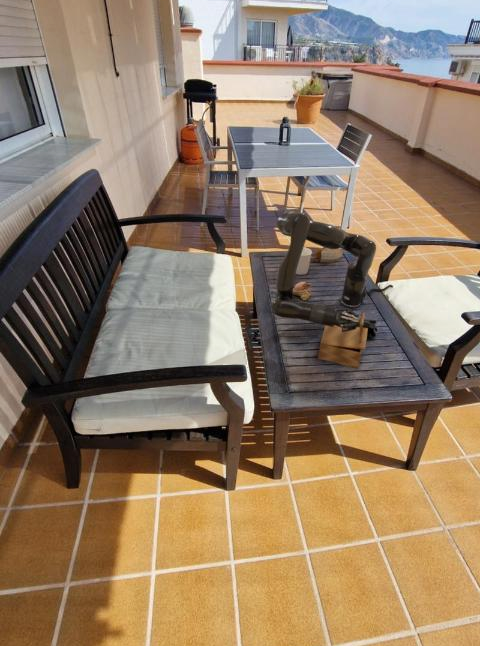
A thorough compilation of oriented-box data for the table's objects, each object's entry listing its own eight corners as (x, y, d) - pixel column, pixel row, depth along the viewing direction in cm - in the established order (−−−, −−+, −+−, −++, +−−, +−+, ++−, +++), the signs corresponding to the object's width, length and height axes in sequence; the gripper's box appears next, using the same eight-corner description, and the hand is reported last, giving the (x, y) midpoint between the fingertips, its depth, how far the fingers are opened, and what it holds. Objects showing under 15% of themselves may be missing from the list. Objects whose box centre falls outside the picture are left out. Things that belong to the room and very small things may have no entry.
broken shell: (315, 302, 186) (306, 294, 179) (296, 306, 191) (287, 298, 184) (314, 285, 190) (306, 277, 182) (296, 289, 195) (287, 281, 188)
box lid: (367, 329, 153) (369, 309, 148) (365, 349, 143) (366, 328, 138) (325, 325, 158) (326, 305, 153) (320, 344, 148) (320, 323, 143)
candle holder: (309, 276, 206) (312, 255, 199) (291, 275, 205) (293, 254, 199) (308, 267, 214) (310, 247, 207) (290, 266, 214) (292, 246, 207)
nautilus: (305, 266, 215) (302, 255, 228) (344, 265, 215) (339, 254, 228) (306, 253, 211) (303, 242, 224) (346, 252, 211) (340, 241, 224)
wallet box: (360, 348, 159) (364, 334, 155) (357, 368, 149) (361, 354, 145) (323, 339, 162) (325, 325, 158) (317, 358, 153) (320, 344, 148)
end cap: (370, 329, 170) (374, 316, 166) (375, 339, 164) (379, 326, 160) (348, 328, 169) (351, 316, 165) (351, 339, 163) (355, 326, 160)
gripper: (321, 316, 141) (370, 327, 137) (327, 297, 151) (372, 307, 147) (318, 332, 145) (365, 343, 141) (324, 313, 156) (368, 322, 152)
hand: (369, 324), depth 144 cm, fingers closed
